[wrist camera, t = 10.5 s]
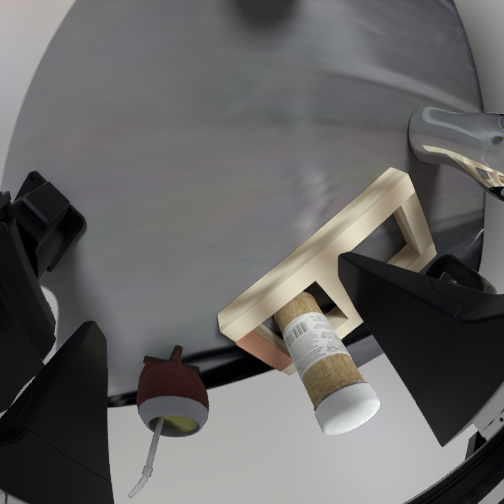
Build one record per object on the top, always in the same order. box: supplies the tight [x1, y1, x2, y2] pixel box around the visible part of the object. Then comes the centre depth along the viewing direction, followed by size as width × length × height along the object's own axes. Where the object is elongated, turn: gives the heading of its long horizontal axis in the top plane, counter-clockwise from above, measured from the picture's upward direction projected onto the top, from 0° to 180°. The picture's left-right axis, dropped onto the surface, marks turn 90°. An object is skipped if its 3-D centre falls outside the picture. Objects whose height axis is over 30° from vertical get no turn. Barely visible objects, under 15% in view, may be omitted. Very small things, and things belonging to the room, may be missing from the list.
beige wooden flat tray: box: [217, 167, 437, 375], centre depth 25 cm, size 21×11×3 cm, turn 130°
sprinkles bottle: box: [274, 292, 380, 435], centre depth 22 cm, size 5×5×13 cm
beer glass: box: [409, 104, 504, 202], centre depth 15 cm, size 7×7×15 cm
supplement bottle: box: [426, 254, 497, 294], centre depth 26 cm, size 7×7×12 cm
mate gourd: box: [128, 346, 209, 498], centre depth 21 cm, size 8×8×15 cm
